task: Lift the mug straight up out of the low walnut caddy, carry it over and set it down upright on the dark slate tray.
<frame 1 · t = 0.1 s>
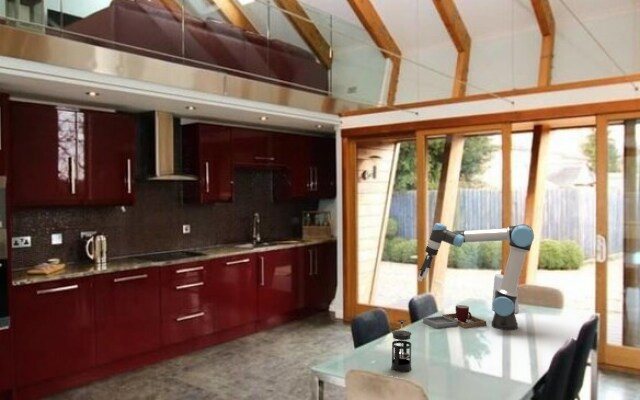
hand: (421, 279, 314), 28 cm above the table, tool tilted 20°, fingers open, 13 cm apart
plastic bottle: (505, 311, 346), on the table
tray: (440, 324, 311), on the table
french press: (400, 369, 235), on the table
caddy: (463, 322, 317), on the table
mug: (463, 322, 317), resting in caddy
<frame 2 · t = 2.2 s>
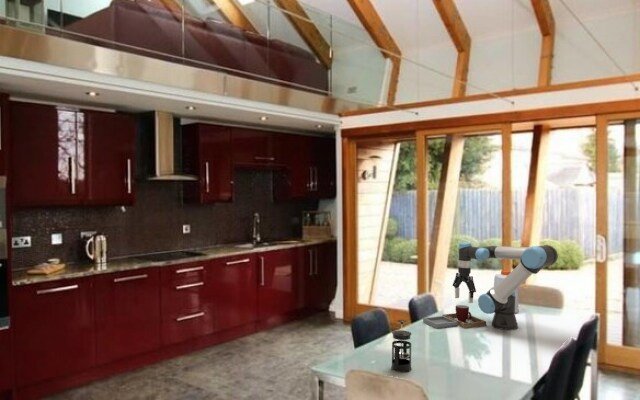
hand: (463, 300, 316), 14 cm above the table, tool pointing down, fingers open, 13 cm apart
nothing on the table moved.
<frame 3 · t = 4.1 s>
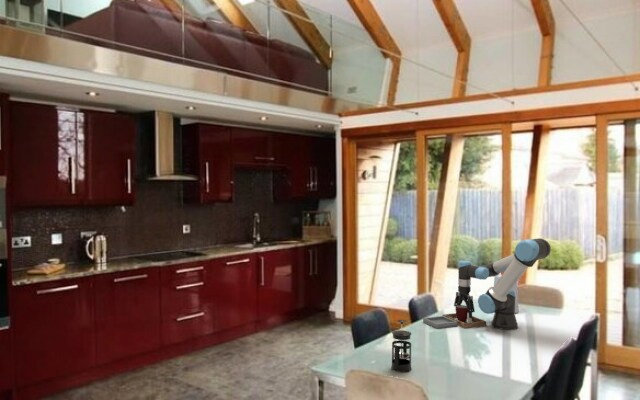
hand: (463, 320, 317), 1 cm above the table, tool pointing down, fingers closed on mug, 10 cm apart
mug: (463, 322, 317), resting in caddy, touching gripper
everything else where it was.
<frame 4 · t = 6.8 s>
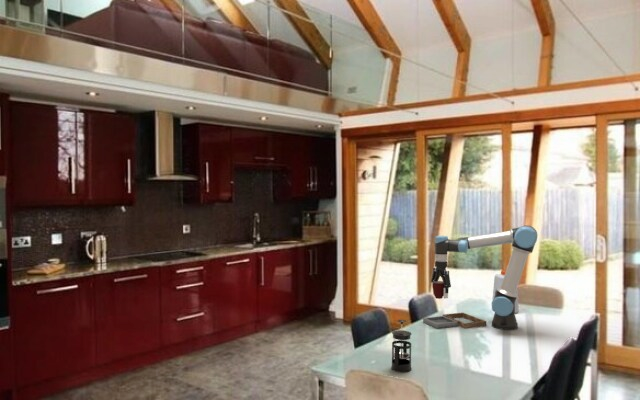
hand: (440, 296, 311), 18 cm above the table, tool pointing down, fingers closed on mug, 10 cm apart
mug: (440, 298, 311), point 16 cm above the table, touching gripper
everything else where it was.
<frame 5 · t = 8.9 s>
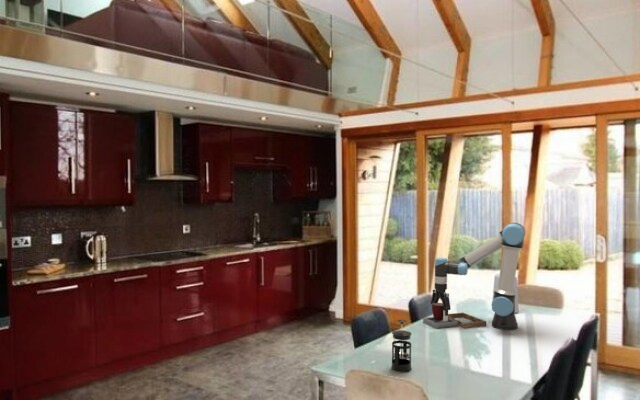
hand: (440, 318, 311), 4 cm above the table, tool pointing down, fingers closed on mug, 10 cm apart
mug: (440, 320, 311), point 2 cm above the table, touching gripper
everything else where it was.
when the fingers open (4 cm above the table, at t = 9.8 s): mug drops 1 cm, resting on tray.
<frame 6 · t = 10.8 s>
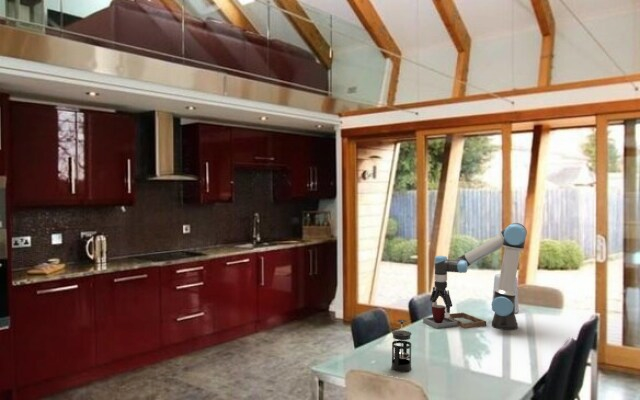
hand: (440, 315, 311), 6 cm above the table, tool pointing down, fingers open, 13 cm apart
mug: (440, 322, 311), point 1 cm above the table, touching tray
everything else where it was.
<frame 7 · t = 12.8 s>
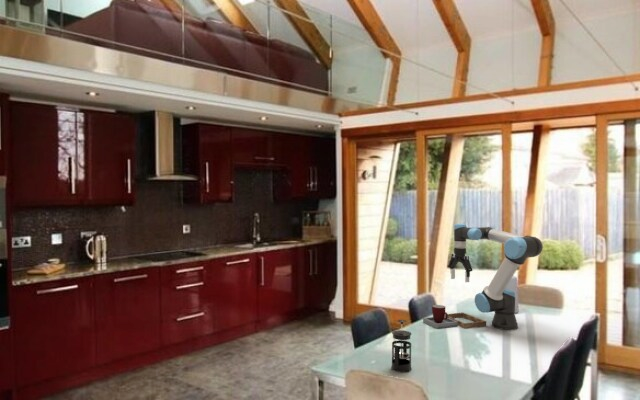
hand: (459, 280, 324), 25 cm above the table, tool pointing down, fingers open, 13 cm apart
nothing on the table moved.
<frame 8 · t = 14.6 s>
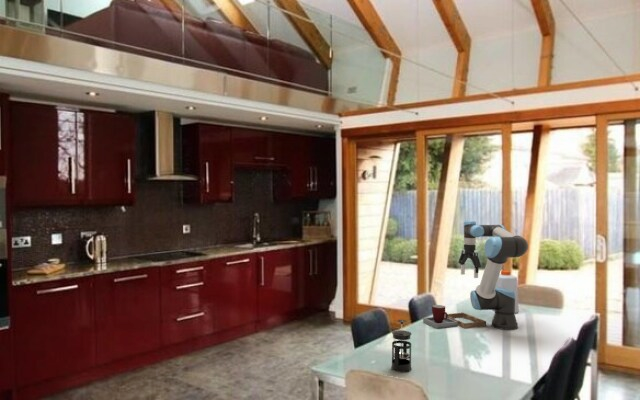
hand: (469, 276, 332), 27 cm above the table, tool pointing down, fingers open, 13 cm apart
nothing on the table moved.
at the end: mug inside the target area on the tray (0.1 cm from its centre), point 1.0 cm above the tray's base; mug tilted 0°; the gripper is holding nothing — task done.
